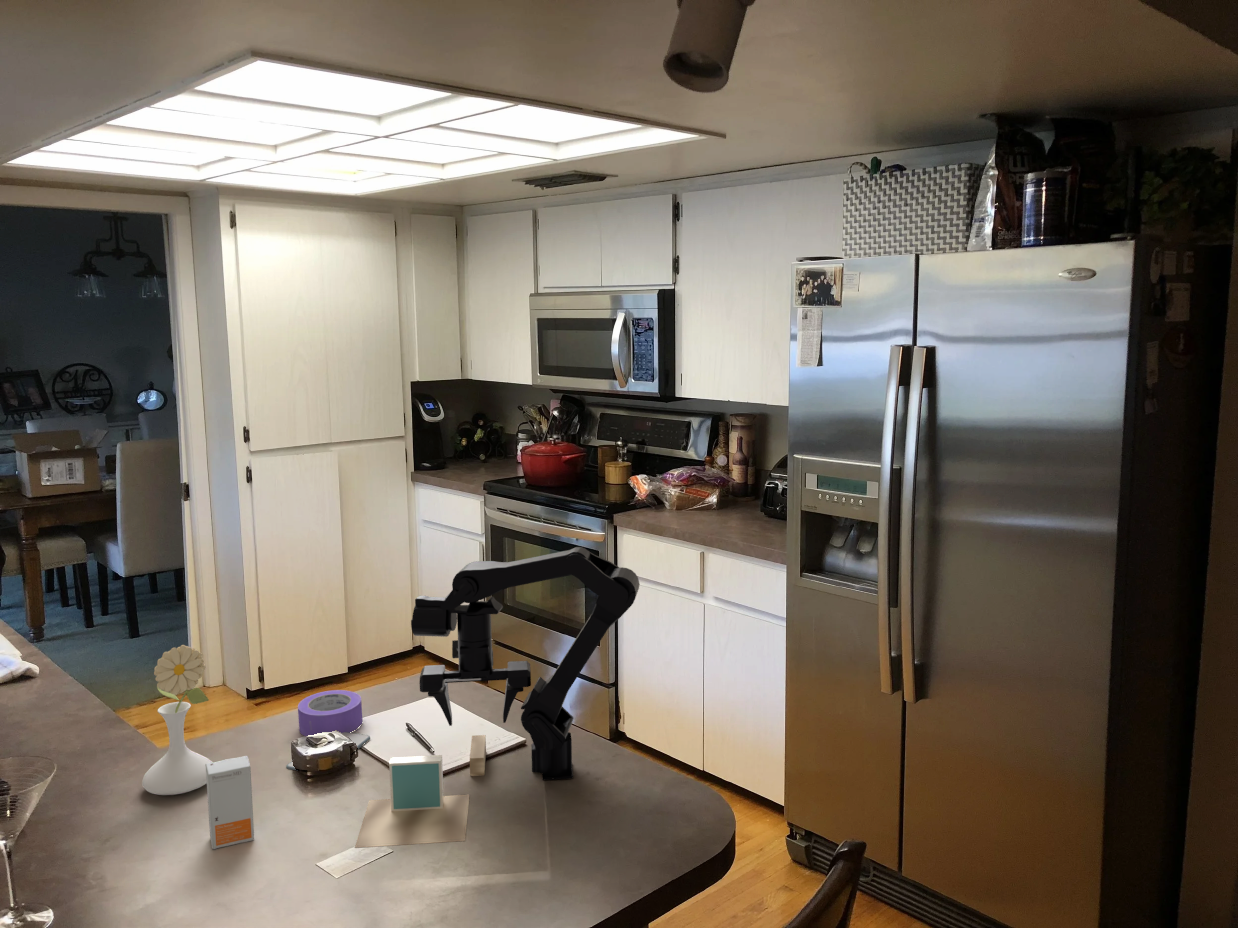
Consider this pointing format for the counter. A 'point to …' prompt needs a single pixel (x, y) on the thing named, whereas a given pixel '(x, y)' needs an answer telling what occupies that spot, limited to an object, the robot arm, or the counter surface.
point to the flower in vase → (178, 724)
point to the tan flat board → (413, 824)
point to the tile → (416, 783)
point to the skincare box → (230, 801)
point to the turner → (478, 755)
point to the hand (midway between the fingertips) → (477, 723)
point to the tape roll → (330, 712)
